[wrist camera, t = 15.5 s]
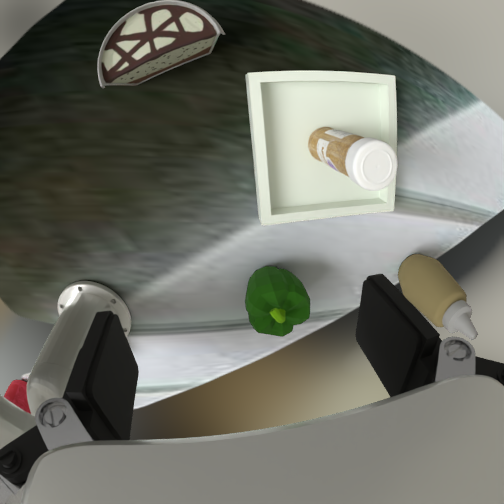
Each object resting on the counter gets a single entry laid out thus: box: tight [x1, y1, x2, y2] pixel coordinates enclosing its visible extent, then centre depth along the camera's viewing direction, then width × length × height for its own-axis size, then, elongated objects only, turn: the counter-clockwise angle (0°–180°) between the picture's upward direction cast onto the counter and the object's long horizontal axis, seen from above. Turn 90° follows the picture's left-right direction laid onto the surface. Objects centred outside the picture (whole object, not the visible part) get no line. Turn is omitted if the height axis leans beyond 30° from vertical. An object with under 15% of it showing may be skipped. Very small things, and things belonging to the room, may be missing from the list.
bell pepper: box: [245, 266, 310, 337], centre depth 40 cm, size 8×8×10 cm
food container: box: [98, 0, 225, 88], centre depth 25 cm, size 12×6×10 cm, turn 110°
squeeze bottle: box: [398, 254, 478, 340], centre depth 39 cm, size 8×8×18 cm
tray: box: [245, 71, 397, 226], centre depth 35 cm, size 18×18×3 cm
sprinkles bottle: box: [308, 127, 398, 191], centre depth 30 cm, size 5×5×14 cm
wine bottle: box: [4, 380, 31, 414], centre depth 39 cm, size 10×10×30 cm
